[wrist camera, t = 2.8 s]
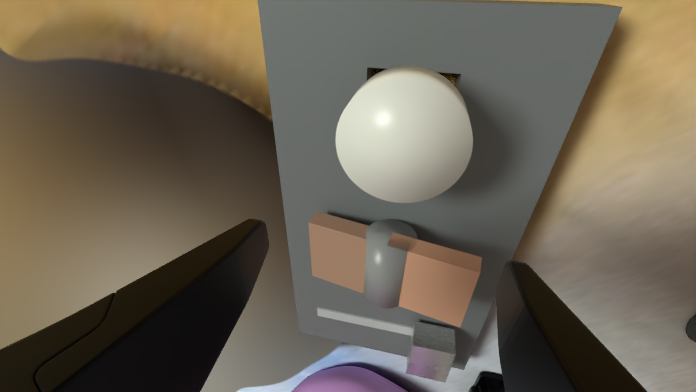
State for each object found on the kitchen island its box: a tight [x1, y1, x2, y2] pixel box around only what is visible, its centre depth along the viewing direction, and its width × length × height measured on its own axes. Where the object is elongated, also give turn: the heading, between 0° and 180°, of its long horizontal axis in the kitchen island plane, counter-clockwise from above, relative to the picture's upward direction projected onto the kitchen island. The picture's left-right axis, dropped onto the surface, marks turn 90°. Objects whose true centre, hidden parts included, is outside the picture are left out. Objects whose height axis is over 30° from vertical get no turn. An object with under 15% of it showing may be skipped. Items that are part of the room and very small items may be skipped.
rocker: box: [308, 211, 482, 327], centre depth 20 cm, size 10×5×3 cm, turn 89°
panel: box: [258, 0, 622, 370], centre depth 22 cm, size 15×27×2 cm, turn 179°
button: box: [335, 66, 473, 203], centre depth 15 cm, size 6×6×4 cm
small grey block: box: [406, 321, 456, 382], centre depth 25 cm, size 3×4×2 cm
